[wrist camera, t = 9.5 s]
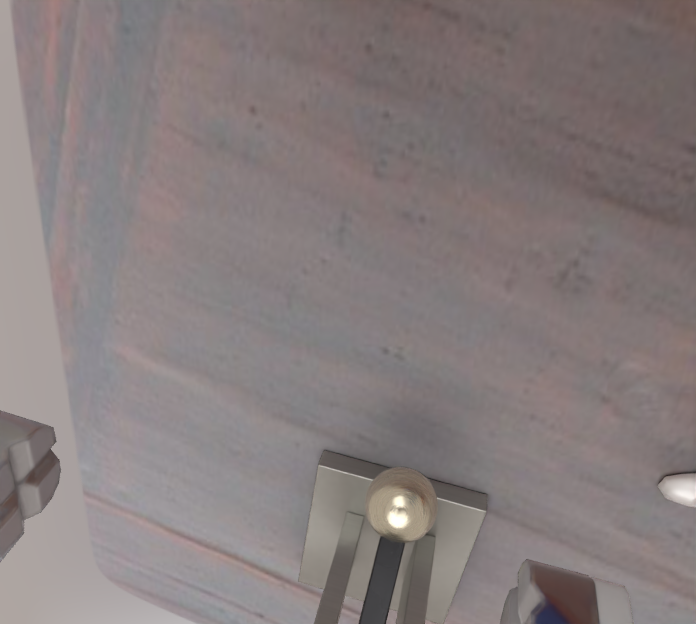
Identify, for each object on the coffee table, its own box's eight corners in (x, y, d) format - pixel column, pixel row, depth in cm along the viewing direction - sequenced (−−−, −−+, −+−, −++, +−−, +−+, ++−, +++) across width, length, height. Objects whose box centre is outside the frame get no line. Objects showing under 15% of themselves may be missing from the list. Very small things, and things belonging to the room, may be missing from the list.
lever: (376, 453, 30) (372, 465, 27) (443, 472, 30) (447, 485, 26) (307, 732, 29) (294, 777, 26) (375, 754, 29) (370, 803, 26)
